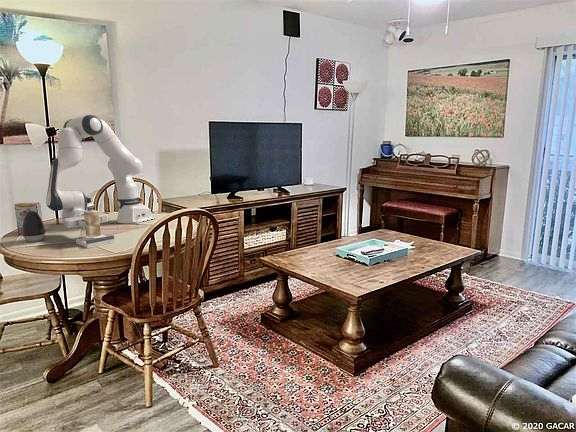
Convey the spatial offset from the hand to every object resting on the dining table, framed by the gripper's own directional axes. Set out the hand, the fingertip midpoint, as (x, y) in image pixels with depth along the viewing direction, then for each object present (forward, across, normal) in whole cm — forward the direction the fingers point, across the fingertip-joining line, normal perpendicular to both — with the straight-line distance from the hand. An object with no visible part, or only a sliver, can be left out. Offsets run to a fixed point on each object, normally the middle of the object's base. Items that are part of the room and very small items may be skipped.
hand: (93, 222), depth 209 cm
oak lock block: (-1, 0, +6) cm, 7 cm away
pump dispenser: (-28, -18, +11) cm, 35 cm away
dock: (0, 0, +10) cm, 10 cm away
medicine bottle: (-69, +26, +10) cm, 74 cm away
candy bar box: (-46, -14, +11) cm, 49 cm away
